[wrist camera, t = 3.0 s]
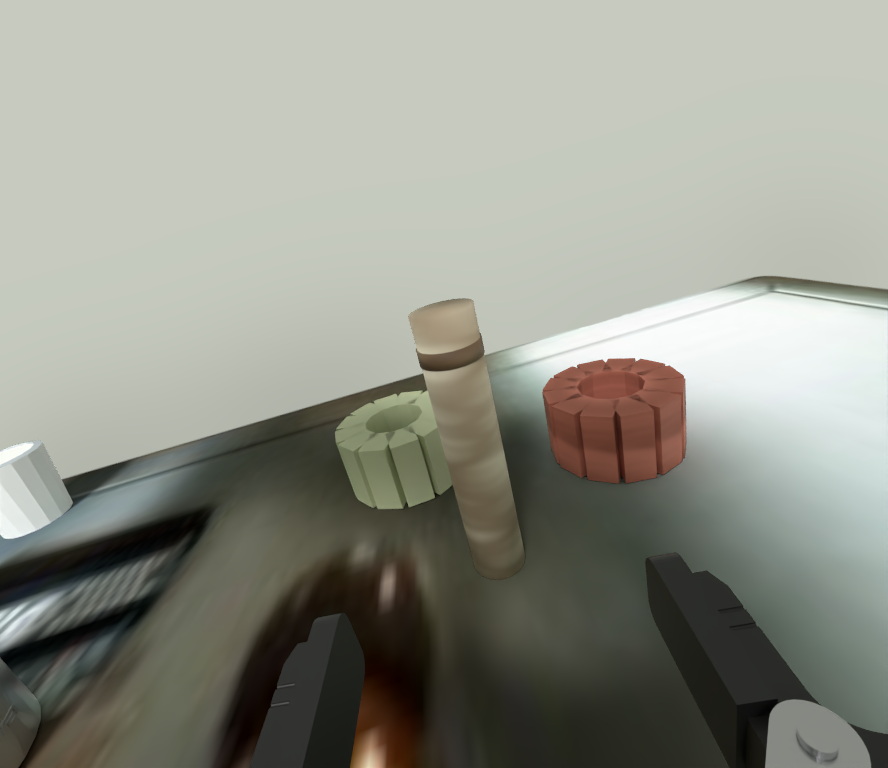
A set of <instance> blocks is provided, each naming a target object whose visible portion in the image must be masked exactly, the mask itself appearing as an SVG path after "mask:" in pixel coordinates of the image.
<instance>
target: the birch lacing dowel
mask: <svg viewBox="0 0 888 768" xmlns="http://www.w3.org/2000/svg"><path fill="white" fill-rule="evenodd" d="M408 317H409V321H410V325H411V329H412V333H413V336H414V340H415V343H416V352H417V355H418V359H419V363H420V367H421V368H422V370H423V374H424V378H425V382H426V386H427V389H428V393H429V397H430V401H431V404H432V408H433V412H434V416H435V420H436V423H437V427H438V431H439V435H440V438H441V442H442V446H443V450H444V454H445V457H446V461H447V465H448V469H449V472H450V476H451V480H452V484H453V488H454V491H455V495H456V499H457V503H458V506H459V510H460V514H461V518H462V522H463V525H464V529H465V533H466V537H467V540H468V544H469V548H470V552H471V556H472V559H473V563H474V567H475V569H476V571H477V572H478V573H479V574H480V575H482V576H483V577H485V578H488V579H494V580H500V579H505V578H509V577H511V576H513V575H515V574H516V573H517V572H518V571H519V570H520V569H521V568H522V567H523V565H524V562H525V552H524V547H523V543H522V538H521V533H520V528H519V523H518V518H517V513H516V508H515V503H514V498H513V494H512V489H511V484H510V479H509V474H508V469H507V464H506V459H505V454H504V450H503V445H502V440H501V435H500V430H499V425H498V420H497V415H496V410H495V405H494V401H493V396H492V391H491V386H490V381H489V376H488V371H487V366H486V361H485V357H484V346H483V342H482V336H481V333H480V332H479V327H478V323H477V318H476V313H475V308H474V303H473V300H471V299H452V300H446V301H441V302H437V303H433V304H430V305H427V306H424V307H422V308H419V309H417V310H415V311H413V312H412V313H410V314H409V316H408Z"/></svg>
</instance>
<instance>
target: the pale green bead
mask: <svg viewBox="0 0 888 768" xmlns="http://www.w3.org/2000/svg"><path fill="white" fill-rule="evenodd" d="M374 403H375V404H371V403H368V404H367V405H365V406H363V407H361V408H360V409H358V410H356V411H354V412H353V413H351V416H347V417H346V418H345V419H344V420H343V422H342V423H341V424H340V425H339V426H338V427H337V428H336V430H337V431H335V438H336V444H337V447H338V450H339V452H340V455H341V458H342V461H343V463H344V466H345V469H346V471H347V474H348V477H349V479H350V482H351V485H352V487H353V490H354V493H355V496H356V497H357V498H358V500H359V501H361V502H363V503H365V504H366V505H368V506H370V507H372V508H374V507H376V506H377V508H378V509H403V508H404V506H405V503H406V501H407V503H408V506H409V507H412V506H415V505H417V504H420V503H423V502H426V501H428V500H431V499H434V498H435V495H434V492H435V493H437V494H439V495H441V494H442V493H444V492H445V491H446V490H447V489H448V488H450V487H451V486H452V485H453V484H452V480H451V476H450V472H449V469H448V465H447V461H446V457H445V454H444V450H443V446H442V442H441V438H440V435H439V431H438V427H437V423H436V420H435V416H434V412H433V408H432V404H431V401H430V397H429V393H428V391H425V392H424V393H423V391H413V392H404V393H401V394H400V395H399V396H398V397H397V395H396V394H394V395H391V396H388V397H385V398H382V399H379V400H375V401H374Z"/></svg>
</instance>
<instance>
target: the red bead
mask: <svg viewBox="0 0 888 768" xmlns="http://www.w3.org/2000/svg"><path fill="white" fill-rule="evenodd" d="M577 367H578V368H576V367H570V368H568V369H566V370H564V371H562V372H560V373H558V374H556V375H554V378H550V380H549V381H548V383H547V384H546V386H545V387H544V389H543V392H542V393H543V399H544V406H545V412H546V418H547V425H548V431H549V437H550V444H551V450H552V452H553V454H554V457H555V459H556V461H557V463H558V464H561V467H562V468H564V469H566V470H568V471H569V472H571V473H573V474H575V475H577V476H579V477H581V478H583V477H584V476H586V475H587V478H588V480H593V481H601V482H609V483H618V484H619V481H620V478H621V476H622V478H623V479H624V481H625V482H626V483H631V482H636V481H641V480H647V479H652V478H657V473H659V474H662V475H664V474H665V473H667V472H668V471H670V470H671V469H672V468H674V467H675V466H677V465H678V464H679V463H681V462H682V458H685V451H686V395H685V379H684V376H683V375H682V374H680V373H679V372H678V371H676V370H675V369H674V368H672V367H671V366H665V364H663V363H659V362H654V361H649V360H644V359H640V360H638V361H636V362H635V358H629V359H608V360H607V362H606V363H605V362H604V361H603V360H598V361H593V362H589V363H584V364H579V365H577Z"/></svg>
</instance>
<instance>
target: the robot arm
mask: <svg viewBox="0 0 888 768" xmlns="http://www.w3.org/2000/svg"><path fill="white" fill-rule="evenodd" d="M646 574H647V586H648V597H649V604H650V608H651V612H652V615H653V618H654V620H655V623H656V625H657V627H658V629H659V631H660V633H661V635H662V637H663V639H664V641H665V643H666V645H667V647H668V648H669V650H670V652H671V654H672V656H673V658H674V660H675V662H676V664H677V666H678V668H679V670H680V672H681V674H682V676H683V678H684V680H685V682H686V683H687V685H688V687H689V689H690V691H691V693H692V695H693V697H694V699H695V701H696V703H697V705H698V707H699V709H700V711H701V713H702V715H703V717H704V718H705V720H706V722H707V724H708V726H709V728H710V730H711V732H712V734H713V736H714V738H715V740H716V742H717V744H718V746H719V748H720V750H721V751H722V753H723V755H724V757H725V759H726V761H727V763H728V765H729V767H730V768H888V734H883V733H878V732H873V731H869V730H865V729H862V728H859V727H856V726H854V725H852V724H850V723H847V722H846V721H845V720H843V719H842V718H841V717H839V716H838V715H837V714H835V713H834V712H832V711H830V710H829V709H827V708H825V707H823V706H821V705H820V704H819V703H818V702H817V701H816V700H815V699H814V698H813V697H812V696H811V695H810V694H809V692H808V691H807V690H806V689H805V687H804V686H803V685H802V683H801V682H800V681H799V679H798V678H797V677H796V675H795V674H794V673H793V672H792V670H791V669H790V668H789V666H788V665H787V664H786V662H785V661H784V660H783V658H782V657H781V656H780V654H779V653H778V652H777V650H776V649H775V648H774V646H773V645H772V644H771V642H770V641H769V640H768V638H767V637H766V636H765V634H764V633H763V632H762V630H761V629H760V628H759V627H757V626H756V623H755V621H754V620H753V618H752V617H751V616H750V614H749V613H748V612H747V611H746V610H744V608H743V605H742V604H741V603H740V601H739V600H738V599H737V597H736V596H735V595H734V593H733V592H732V591H731V589H730V588H729V587H728V586H727V585H726V584H725V583H723V582H722V581H720V580H719V579H718V578H716V577H715V576H713V575H712V574H711V573H709V572H708V571H702V572H696V573H692V572H691V571H690V569H689V568H688V566H687V565H686V563H685V562H684V560H683V559H682V557H681V556H680V555H679V554H678V553H670V554H665V555H659V556H654V557H648V558H646ZM364 673H365V664H364V656H363V652H362V649H361V647H360V644H359V642H358V640H357V637H356V635H355V633H354V631H353V628H352V626H351V624H350V622H349V619H348V617H347V615H346V614H345V613H341V614H336V615H330V616H325V617H320V618H317V619H315V621H314V623H313V625H312V628H311V632H310V635H309V638H308V642H304V643H299V644H297V646H296V647H295V649H294V650H293V652H292V653H291V655H290V656H289V658H288V659H287V660H286V662H285V663H284V666H283V669H282V672H281V675H280V678H279V681H278V684H277V690H275V693H274V696H273V699H272V702H271V708H269V711H268V713H267V716H266V719H265V722H264V725H263V728H262V731H261V734H260V737H259V740H258V743H257V746H256V749H255V752H254V755H253V758H252V761H251V764H250V767H249V768H350V763H351V757H352V751H353V744H354V738H355V732H356V725H357V719H358V713H359V707H360V700H361V694H362V688H363V681H364ZM40 721H41V706H40V704H39V702H38V700H37V698H36V697H35V696H34V695H33V694H32V693H31V691H30V690H29V689H28V688H27V687H26V686H25V685H24V684H23V683H22V681H21V680H20V679H19V678H18V677H17V676H16V675H15V674H14V673H13V671H12V670H11V669H10V668H9V667H8V666H7V665H6V664H5V663H4V661H3V660H2V659H1V658H0V768H18V767H19V766H20V764H21V763H22V761H23V760H24V758H25V757H26V755H27V753H28V751H29V749H30V747H31V745H32V743H33V741H34V739H35V737H36V734H37V731H38V727H39V724H40Z"/></svg>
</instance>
